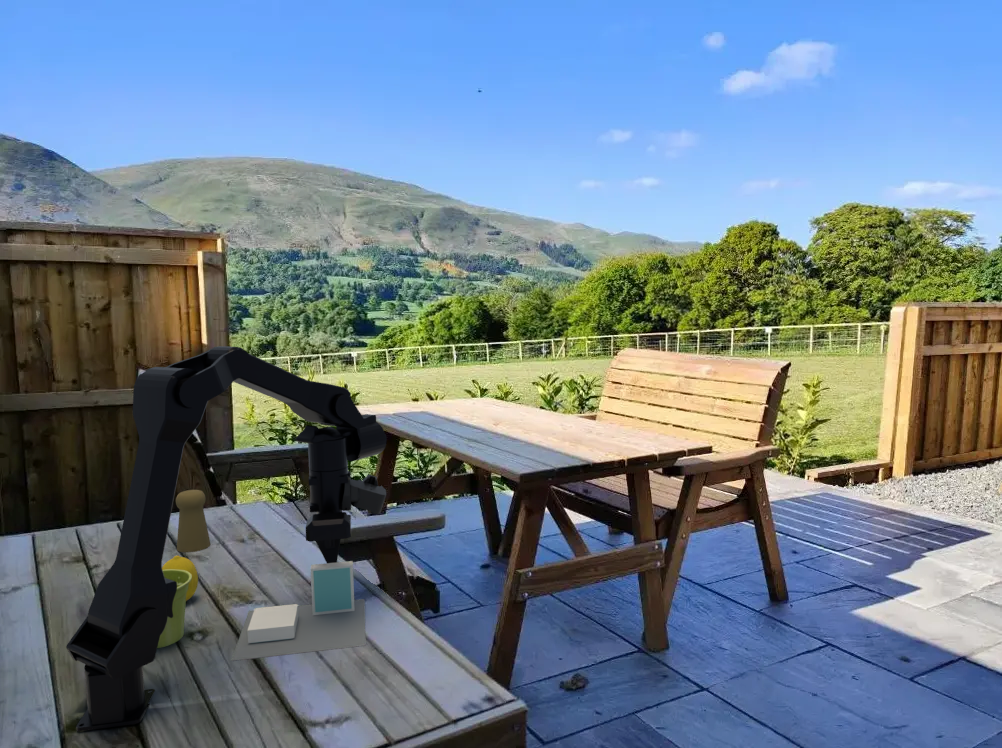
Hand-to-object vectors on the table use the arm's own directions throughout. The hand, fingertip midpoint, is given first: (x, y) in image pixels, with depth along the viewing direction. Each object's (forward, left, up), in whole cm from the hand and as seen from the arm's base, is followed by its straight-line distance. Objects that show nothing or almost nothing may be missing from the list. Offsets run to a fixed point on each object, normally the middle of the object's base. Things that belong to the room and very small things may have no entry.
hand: (332, 566), depth 108 cm
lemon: (+5, +23, -6) cm, 24 cm away
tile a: (-6, +8, -4) cm, 10 cm away
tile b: (-4, 0, -5) cm, 7 cm away
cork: (+33, +27, -6) cm, 43 cm away
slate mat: (-9, +4, -6) cm, 11 cm away
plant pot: (-7, +23, -6) cm, 25 cm away
